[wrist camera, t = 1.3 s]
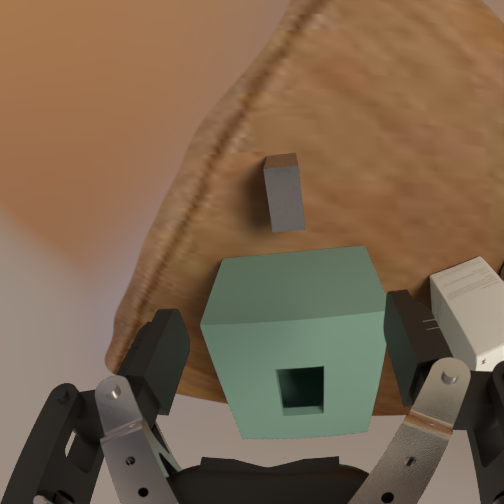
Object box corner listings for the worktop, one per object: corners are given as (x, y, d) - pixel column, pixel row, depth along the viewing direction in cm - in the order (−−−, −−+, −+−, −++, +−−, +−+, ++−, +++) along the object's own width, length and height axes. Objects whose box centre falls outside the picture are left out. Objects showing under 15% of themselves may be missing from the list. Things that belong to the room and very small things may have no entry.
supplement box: (430, 321, 33) (465, 403, 22) (428, 273, 30) (475, 357, 19) (479, 302, 31) (524, 375, 20) (482, 253, 28) (540, 325, 17)
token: (295, 152, 26) (298, 165, 22) (302, 206, 28) (305, 229, 24) (266, 156, 26) (263, 169, 22) (274, 209, 29) (272, 232, 24)
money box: (364, 245, 29) (391, 310, 21) (356, 367, 38) (367, 431, 29) (222, 258, 31) (199, 325, 23) (251, 375, 40) (242, 439, 31)
